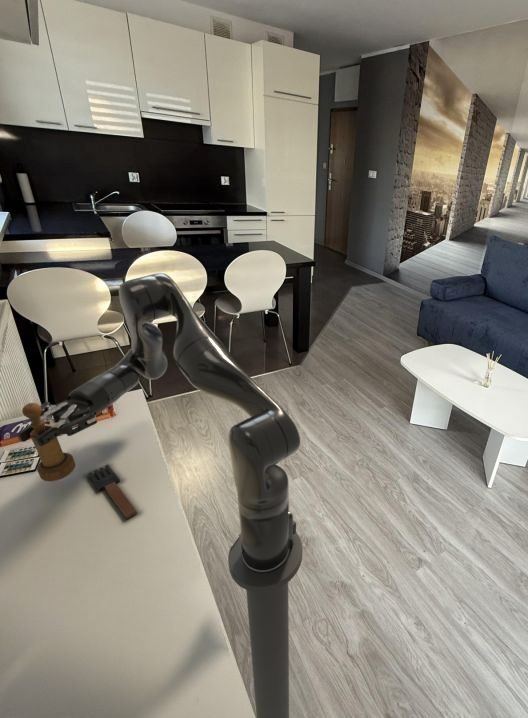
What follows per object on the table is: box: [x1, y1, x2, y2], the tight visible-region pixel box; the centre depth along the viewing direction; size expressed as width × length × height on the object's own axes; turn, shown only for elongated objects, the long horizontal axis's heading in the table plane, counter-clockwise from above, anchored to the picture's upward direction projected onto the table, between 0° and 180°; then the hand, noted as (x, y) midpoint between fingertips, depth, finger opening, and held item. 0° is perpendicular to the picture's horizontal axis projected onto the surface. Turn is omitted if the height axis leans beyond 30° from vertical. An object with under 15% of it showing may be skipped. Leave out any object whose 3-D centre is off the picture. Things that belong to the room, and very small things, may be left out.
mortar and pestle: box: [21, 402, 76, 482], centre depth 83 cm, size 7×6×18 cm
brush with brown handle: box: [87, 464, 138, 520], centre depth 90 cm, size 19×4×1 cm, turn 49°
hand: (29, 440), depth 80 cm, fingers closed on mortar and pestle, 4 cm apart
